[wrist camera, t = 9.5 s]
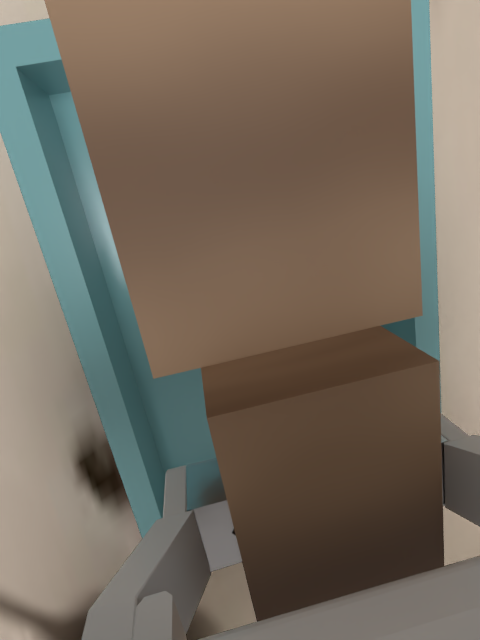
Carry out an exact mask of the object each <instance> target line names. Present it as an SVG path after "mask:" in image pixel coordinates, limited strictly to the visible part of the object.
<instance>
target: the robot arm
mask: <svg viewBox="0 0 480 640" xmlns="http://www.w3.org/2000/svg"><path fill="white" fill-rule="evenodd" d="M441 453H442V496H443V506H445V507H446V508H447V509H449V510H451V511H453V512H455V513H456V514H458V515H460V516H462V517H464V518H465V519H467V520H469V521H471V522H473V523H474V524H476V525H478V526H480V436H478V435H472V436H469V435H468V434H466V433H465V432H464V431H462V430H461V429H460V428H459V427H457V426H456V425H455V424H454V423H452V422H451V421H450V420H448V419H447V418H446V417H445V416H443V415H442V414H441ZM240 562H242V559H241V555H240V551H239V546H238V542H237V538H236V534H235V530H234V526H233V522H232V518H231V514H230V510H229V506H228V502H227V498H226V494H225V490H224V486H223V482H222V478H221V474H220V470H219V466H218V462H217V458H213V459H209V460H205V461H201V462H196V463H192V464H188V465H187V466H186V465H184V466H180V467H176V468H172V469H168V470H167V472H166V475H165V491H164V507H163V518H161V519H158V520H156V522H155V523H154V524H153V526H152V527H151V528H150V530H149V531H148V532H147V533H146V535H145V536H144V537H143V539H142V540H141V541H140V543H139V544H138V545H137V547H136V548H135V549H134V551H133V552H132V553H131V555H130V556H129V557H128V559H127V560H126V561H125V563H124V564H123V565H122V567H121V568H120V569H119V571H118V572H117V573H116V575H115V576H114V577H113V579H112V580H111V581H110V582H109V584H108V585H107V586H106V588H105V589H104V590H103V592H102V593H101V594H100V596H99V597H98V598H97V600H96V601H95V602H94V604H93V605H92V606H91V608H90V609H89V610H88V614H87V618H86V623H85V627H84V631H83V635H82V639H81V640H187V637H186V633H187V631H188V629H189V626H190V624H191V621H192V619H193V617H194V614H195V612H196V609H197V607H198V604H199V602H200V600H201V597H202V595H203V592H204V590H205V588H206V585H207V583H208V580H209V578H210V576H211V571H214V570H218V569H221V568H224V567H227V566H230V565H234V564H237V563H240ZM197 640H480V556H477V557H473V558H470V559H466V560H463V561H460V562H456V563H453V564H450V565H446V566H443V567H439V568H436V569H433V570H429V571H426V572H423V573H419V574H416V575H412V576H409V577H406V578H402V579H399V580H396V581H392V582H389V583H385V584H382V585H379V586H375V587H372V588H369V589H365V590H362V591H359V592H355V593H352V594H348V595H345V596H342V597H338V598H335V599H332V600H328V601H325V602H322V603H318V604H315V605H312V606H308V607H305V608H301V609H298V610H295V611H291V612H288V613H285V614H281V615H278V616H275V617H271V618H268V619H265V620H261V621H258V622H255V623H251V624H248V625H245V626H241V627H238V628H235V629H231V630H228V631H224V632H221V633H218V634H214V635H211V636H208V637H204V638H201V639H197Z"/></svg>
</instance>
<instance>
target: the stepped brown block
mask: <svg viewBox="0 0 480 640" xmlns="http://www.w3.org/2000/svg"><path fill="white" fill-rule="evenodd" d="M45 4H46V7H47V11H48V14H49V18H50V21H51V25H52V28H53V32H54V35H55V38H56V42H57V45H58V49H59V52H60V56H61V59H62V63H63V66H64V70H65V73H66V77H67V80H68V84H69V87H70V91H71V94H72V97H73V101H74V104H75V108H76V111H77V115H78V118H79V122H80V125H81V129H82V132H83V136H84V139H85V143H86V146H87V150H88V153H89V157H90V160H91V163H92V167H93V170H94V174H95V177H96V181H97V184H98V188H99V191H100V195H101V198H102V202H103V205H104V209H105V212H106V216H107V219H108V223H109V226H110V229H111V233H112V236H113V240H114V243H115V247H116V250H117V254H118V257H119V261H120V264H121V268H122V271H123V275H124V278H125V282H126V285H127V288H128V292H129V295H130V299H131V302H132V306H133V309H134V313H135V316H136V320H137V323H138V327H139V330H140V334H141V337H142V341H143V344H144V348H145V351H146V354H147V358H148V361H149V365H150V368H151V372H152V375H153V379H155V378H159V377H163V376H168V375H172V374H176V373H181V372H185V371H189V370H193V369H198V368H201V374H202V382H203V391H204V399H205V408H206V416H207V421H208V425H209V429H210V434H211V438H212V442H213V446H214V450H215V454H216V458H217V462H218V466H219V470H220V474H221V478H222V482H223V486H224V490H225V494H226V498H227V502H228V506H229V510H230V514H231V518H232V522H233V526H234V530H235V534H236V538H237V542H238V546H239V551H240V555H241V559H242V563H243V567H244V571H245V575H246V579H247V583H248V587H249V591H250V595H251V599H252V603H253V607H254V611H255V615H256V619H257V622H258V621H261V620H265V619H268V618H271V617H275V616H278V615H281V614H285V613H288V612H291V611H295V610H298V609H301V608H305V607H308V606H312V605H315V604H318V603H322V602H325V601H328V600H332V599H335V598H338V597H342V596H345V595H348V594H352V593H355V592H359V591H362V590H365V589H369V588H372V587H375V586H379V585H382V584H385V583H389V582H392V581H396V580H399V579H402V578H406V577H409V576H412V575H416V574H419V573H423V572H426V571H429V570H433V569H436V568H439V567H443V566H444V539H443V496H442V453H441V411H440V368H439V361H438V360H437V359H435V358H433V357H432V356H430V355H428V354H427V353H425V352H423V351H422V350H420V349H418V348H417V347H415V346H413V345H412V344H410V343H408V342H407V341H405V340H403V339H402V338H400V337H398V336H397V335H395V334H393V333H392V332H390V331H388V330H387V329H385V328H383V327H382V326H381V325H385V324H389V323H393V322H398V321H402V320H406V319H410V318H415V317H419V316H423V311H422V284H421V257H420V230H419V203H418V176H417V149H416V122H415V95H414V68H413V41H412V14H411V0H45Z"/></svg>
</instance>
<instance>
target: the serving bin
mask: <svg viewBox="0 0 480 640" xmlns="http://www.w3.org/2000/svg"><path fill="white" fill-rule="evenodd" d="M411 14H412V41H413V68H414V95H415V122H416V149H417V176H418V203H419V230H420V257H421V284H422V311H423V316H419V317H415V318H410V319H406V320H402V321H398V322H393V323H389V324H385V325H381V326H382V327H383V328H385V329H387V330H388V331H390V332H392V333H393V334H395V335H397V336H398V337H400V338H402V339H403V340H405V341H407V342H408V343H410V344H412V345H413V346H415V347H417V348H418V349H420V350H422V351H423V352H425V353H427V354H428V355H430V356H432V357H433V358H435V359H437V360H438V361H439V368H440V352H439V319H438V285H437V251H436V218H435V184H434V151H433V117H432V83H431V50H430V16H429V0H411ZM0 133H1V136H2V138H3V141H4V144H5V147H6V150H7V153H8V156H9V158H10V161H11V164H12V167H13V170H14V173H15V176H16V178H17V181H18V184H19V187H20V190H21V193H22V196H23V198H24V201H25V204H26V207H27V210H28V213H29V216H30V219H31V221H32V224H33V227H34V230H35V233H36V236H37V239H38V241H39V244H40V247H41V250H42V253H43V256H44V259H45V261H46V264H47V267H48V270H49V273H50V276H51V279H52V282H53V284H54V287H55V290H56V293H57V296H58V299H59V302H60V304H61V307H62V310H63V313H64V316H65V319H66V322H67V324H68V327H69V330H70V333H71V336H72V339H73V342H74V345H75V347H76V350H77V353H78V356H79V359H80V362H81V365H82V367H83V370H84V373H85V376H86V379H87V382H88V385H89V387H90V390H91V393H92V396H93V399H94V402H95V405H96V407H97V410H98V413H99V416H100V419H101V422H102V425H103V428H104V430H105V433H106V436H107V439H108V442H109V445H110V448H111V450H112V453H113V456H114V459H115V462H116V465H117V468H118V470H119V473H120V476H121V479H122V482H123V485H124V488H125V491H126V493H127V496H128V499H129V502H130V505H131V508H132V511H133V513H134V516H135V519H136V522H137V525H138V528H139V531H140V533H141V536H142V539H143V537H144V536H145V535H146V533H147V532H148V531H149V530H150V528H151V527H152V526H153V524H154V523H155V522H156V520H158V519H161V518H163V507H164V491H165V475H166V472H167V470H168V469H172V468H176V467H180V466H184V465H186V466H187V465H188V464H192V463H196V462H201V461H205V460H209V459H213V458H216V454H215V450H214V446H213V442H212V438H211V434H210V429H209V425H208V421H207V416H206V408H205V399H204V391H203V382H202V374H201V368H198V369H193V370H189V371H185V372H181V373H176V374H172V375H168V376H163V377H159V378H155V379H153V375H152V372H151V368H150V365H149V361H148V358H147V354H146V351H145V348H144V344H143V341H142V337H141V334H140V330H139V327H138V323H137V320H136V316H135V313H134V309H133V306H132V302H131V299H130V295H129V292H128V288H127V285H126V282H125V278H124V275H123V271H122V268H121V264H120V261H119V257H118V254H117V250H116V247H115V243H114V240H113V236H112V233H111V229H110V226H109V223H108V219H107V216H106V212H105V209H104V205H103V202H102V198H101V195H100V191H99V188H98V184H97V181H96V177H95V174H94V170H93V167H92V163H91V160H90V157H89V153H88V150H87V146H86V143H85V139H84V136H83V132H82V129H81V125H80V122H79V118H78V115H77V111H76V108H75V104H74V101H73V97H72V94H71V91H70V87H69V84H68V80H67V77H66V73H65V70H64V66H63V63H62V59H61V56H60V52H59V49H58V45H57V42H56V38H55V35H54V32H53V28H52V25H51V21H50V18H49V19H43V20H36V21H30V22H23V23H16V24H10V25H3V26H0ZM440 411H441V386H440Z"/></svg>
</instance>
